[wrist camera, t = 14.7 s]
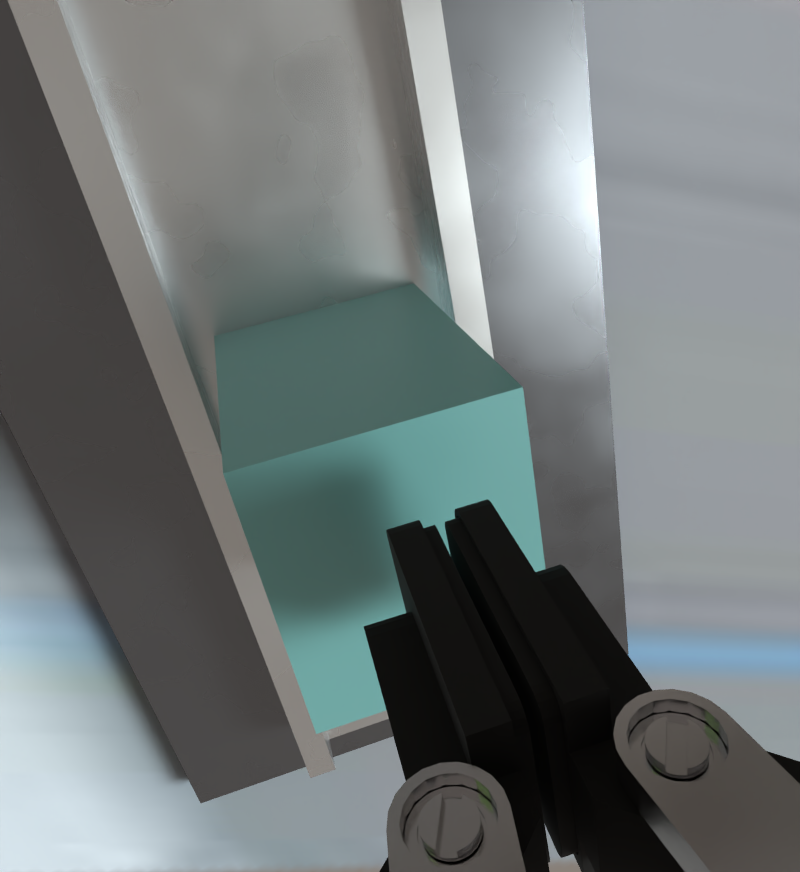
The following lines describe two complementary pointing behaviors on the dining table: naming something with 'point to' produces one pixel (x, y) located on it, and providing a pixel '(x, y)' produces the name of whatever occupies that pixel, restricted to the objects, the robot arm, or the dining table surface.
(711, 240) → the dining table surface
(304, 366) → the block
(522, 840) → the robot arm
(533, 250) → the rail board
